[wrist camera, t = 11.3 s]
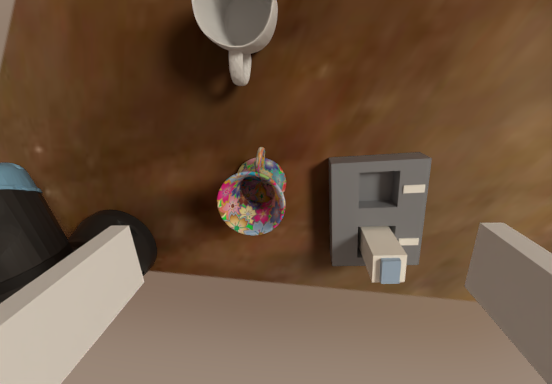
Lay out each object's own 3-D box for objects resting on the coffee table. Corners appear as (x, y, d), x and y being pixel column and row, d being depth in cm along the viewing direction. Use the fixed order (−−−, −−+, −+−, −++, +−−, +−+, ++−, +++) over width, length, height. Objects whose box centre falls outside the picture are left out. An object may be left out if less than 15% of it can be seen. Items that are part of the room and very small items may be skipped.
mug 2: (283, 209, 47) (278, 241, 37) (232, 200, 47) (213, 228, 37) (296, 143, 42) (295, 158, 32) (240, 132, 42) (221, 144, 33)
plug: (357, 244, 47) (373, 286, 37) (358, 221, 45) (374, 259, 35) (383, 243, 46) (406, 285, 36) (385, 220, 45) (409, 258, 34)
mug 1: (217, -17, 36) (188, -56, 26) (283, -14, 35) (277, -52, 26) (218, 84, 40) (193, 82, 31) (276, 88, 40) (269, 87, 30)
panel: (329, 252, 49) (332, 266, 45) (328, 157, 43) (331, 164, 39) (409, 251, 47) (418, 265, 43) (419, 152, 41) (432, 158, 37)
